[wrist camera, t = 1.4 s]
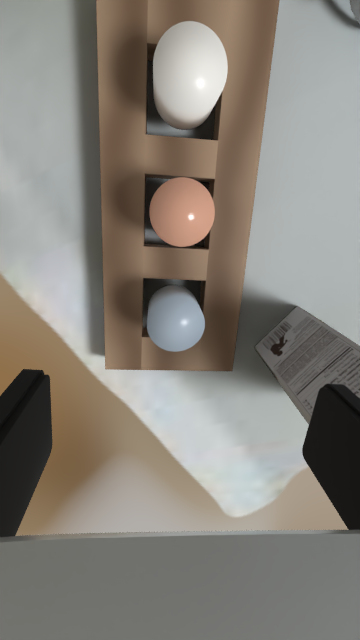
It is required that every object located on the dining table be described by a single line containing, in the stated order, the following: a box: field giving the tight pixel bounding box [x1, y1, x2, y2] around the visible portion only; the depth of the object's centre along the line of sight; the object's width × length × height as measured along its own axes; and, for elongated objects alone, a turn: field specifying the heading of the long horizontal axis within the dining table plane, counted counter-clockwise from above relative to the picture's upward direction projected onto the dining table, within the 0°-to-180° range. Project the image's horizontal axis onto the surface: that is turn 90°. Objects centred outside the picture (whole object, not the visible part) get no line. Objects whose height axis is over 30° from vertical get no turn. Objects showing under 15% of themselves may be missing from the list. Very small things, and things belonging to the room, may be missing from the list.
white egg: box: [153, 21, 228, 130], centre depth 20 cm, size 4×4×4 cm
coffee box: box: [255, 306, 360, 424], centre depth 24 cm, size 9×6×16 cm
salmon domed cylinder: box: [150, 177, 215, 247], centre depth 22 cm, size 4×4×4 cm
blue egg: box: [147, 285, 205, 352], centre depth 25 cm, size 4×4×4 cm
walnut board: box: [96, 0, 279, 371], centre depth 25 cm, size 12×28×2 cm, turn 177°
